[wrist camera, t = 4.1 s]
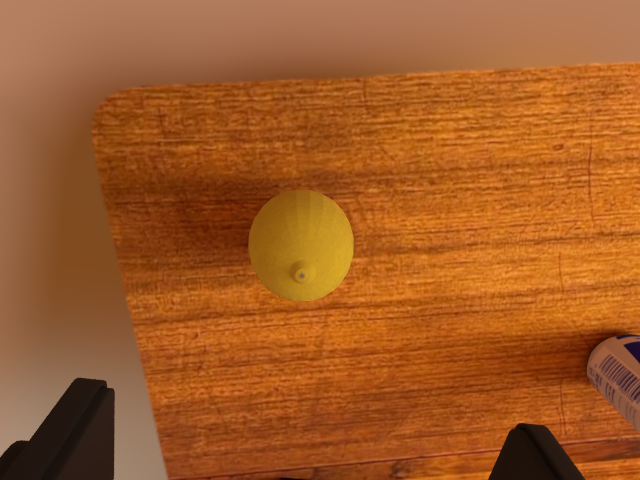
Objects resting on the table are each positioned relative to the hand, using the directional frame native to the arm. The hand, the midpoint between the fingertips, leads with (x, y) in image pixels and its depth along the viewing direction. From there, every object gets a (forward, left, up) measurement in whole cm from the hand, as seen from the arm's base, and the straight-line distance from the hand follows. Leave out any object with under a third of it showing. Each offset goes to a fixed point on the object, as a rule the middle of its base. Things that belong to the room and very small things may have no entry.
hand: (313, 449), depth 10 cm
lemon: (0, 0, -17) cm, 17 cm away
